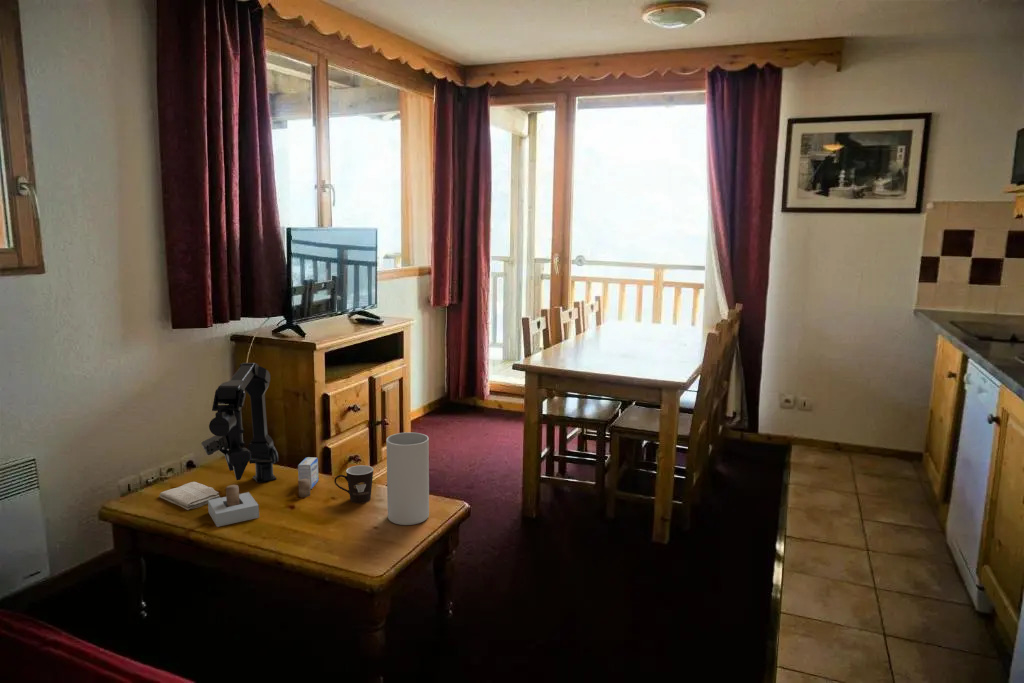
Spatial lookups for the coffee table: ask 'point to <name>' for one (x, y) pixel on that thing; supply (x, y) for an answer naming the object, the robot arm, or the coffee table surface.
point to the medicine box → (309, 470)
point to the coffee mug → (358, 483)
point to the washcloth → (190, 495)
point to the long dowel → (232, 495)
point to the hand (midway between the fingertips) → (234, 475)
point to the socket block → (233, 510)
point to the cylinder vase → (407, 478)
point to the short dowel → (304, 487)
